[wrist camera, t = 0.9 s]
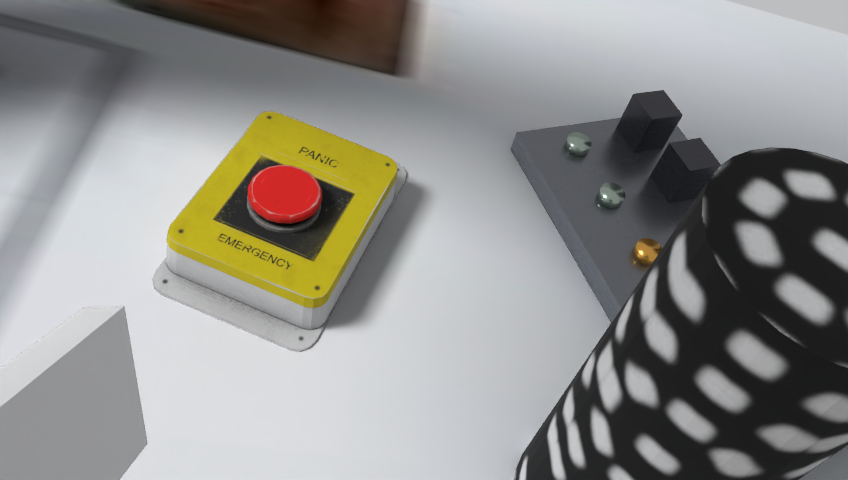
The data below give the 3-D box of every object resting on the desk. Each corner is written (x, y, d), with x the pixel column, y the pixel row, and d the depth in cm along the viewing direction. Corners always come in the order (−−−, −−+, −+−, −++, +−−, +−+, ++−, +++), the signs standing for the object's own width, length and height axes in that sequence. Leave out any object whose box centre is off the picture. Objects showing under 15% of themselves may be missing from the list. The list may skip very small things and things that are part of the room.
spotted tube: (478, 499, 37) (649, 233, 22) (577, 392, 42) (776, 111, 26) (620, 636, 34) (929, 444, 19) (709, 506, 39) (1015, 267, 24)
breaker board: (510, 148, 53) (530, 97, 49) (657, 127, 57) (684, 78, 53) (706, 487, 40) (751, 449, 36) (877, 426, 44) (932, 387, 41)
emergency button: (136, 241, 38) (279, 68, 47) (144, 293, 41) (276, 121, 51) (313, 316, 37) (422, 125, 47) (306, 363, 40) (410, 175, 50)
